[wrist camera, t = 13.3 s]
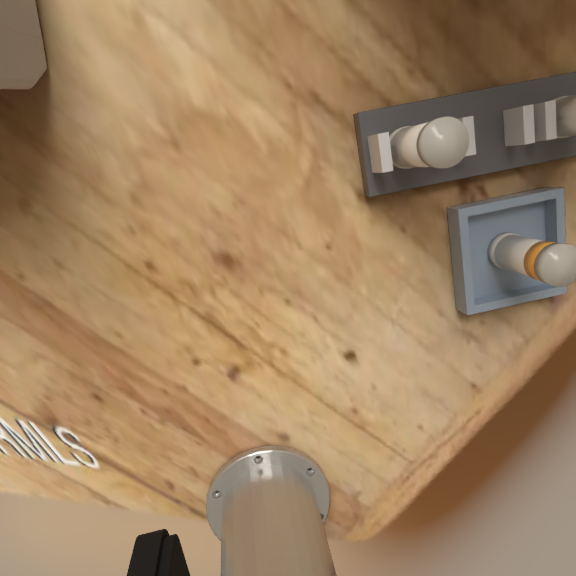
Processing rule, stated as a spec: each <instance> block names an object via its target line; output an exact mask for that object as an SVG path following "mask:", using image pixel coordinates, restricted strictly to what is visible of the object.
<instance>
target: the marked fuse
mask: <svg viewBox="0 0 576 576" xmlns="http://www.w3.org/2000/svg"><path fill="white" fill-rule="evenodd" d="M487 255H488V259H489V261H490V262H491V263H492V264H493V265H494V266H496V267H498V268H501V269H505V270H511V271H514V272H517V273H520V274H523V275H526V276H529V277H531V278H533V279H536V280H539V281H542V282H543V283H546V284H548V285H551V286H555V287H564V286H567V285H569V284H571V283H573V282H574V281H575V280H576V247H575V246H572V245H569V244H564V243H555V242H550V241H543V240H538V239H533V238H528V237H523V236H520V235H518V234H514V233H509V232H504V233H500V234H498V235H497V236H495V237H494V238H493V239H492V240H491V242H490V244H489V246H488V250H487Z"/></svg>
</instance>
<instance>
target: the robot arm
mask: <svg viewBox="0 0 576 576" xmlns="http://www.w3.org/2000/svg"><path fill="white" fill-rule="evenodd" d="M329 505H330V491H329V487H328V483H327V480H326V478H325V476H324V473H323V471H322V470H321V468H320V467H319V466H318V464H317V463H316V462H315V461H314V460H312V459H311V458H310V457H309V456H307V455H306V454H304V453H302V452H300V451H298V450H295V449H292V448H289V447H283V446H262V447H257V448H253V449H250V450H247V451H245V452H242V453H240V454H239V455H237V456H235V457H233V458H232V459H231V460H229V461H228V462H227V463H226V464H225V465H223V466H222V468H221V469H220V470H219V471H218V472H217V474H216V475H215V477H214V479H213V481H212V482H211V484H210V487H209V491H208V494H207V504H206V508H207V518H208V521H209V525H210V527H211V529H212V531H213V532H214V534H215V535H216V536H217V538H218V539H219V540H220V541H221V576H337V575H336V572H335V568H334V564H333V560H332V557H331V553H330V549H329V545H328V542H327V538H326V534H325V530H324V527H323V523H324V521H325V520H326V517H327V514H328V511H329ZM127 576H190V573H189V570H188V567H187V564H186V560H185V557H184V554H183V551H182V547H181V544H180V540H179V538H178V536H177V534H174V535H170V536H169V533H168V531H167V530H166V529H163V530H158V531H154V532H151V533H146V534H142V535H139V536H138V537H137V538H136V541H135V545H134V549H133V553H132V557H131V561H130V565H129V569H128V573H127Z"/></svg>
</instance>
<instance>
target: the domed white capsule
mask: <svg viewBox="0 0 576 576" xmlns="http://www.w3.org/2000/svg"><path fill="white" fill-rule="evenodd" d="M389 138H390V146H391V155H392V163H393V166H394V167H396V168H400V169H409V168H413V167H432V168H449V167H452V166H455V165H456V164H458V163H459V162H460V161H461V160H462V159H463V158H464V156H465V155H466V153H467V150H468V147H469V134H468V131H467V128H466V127H465V125H464V124H463V123H462V122H461V121H460V120H458V119H456V118H454V117H441V118H437V119H434V120H431V121H430V122H427V123H423V124H419V125H415V126H405V127H401V128H398V129H396V130H394V131H393V132H392V133H391V134H390V135H389Z"/></svg>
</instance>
